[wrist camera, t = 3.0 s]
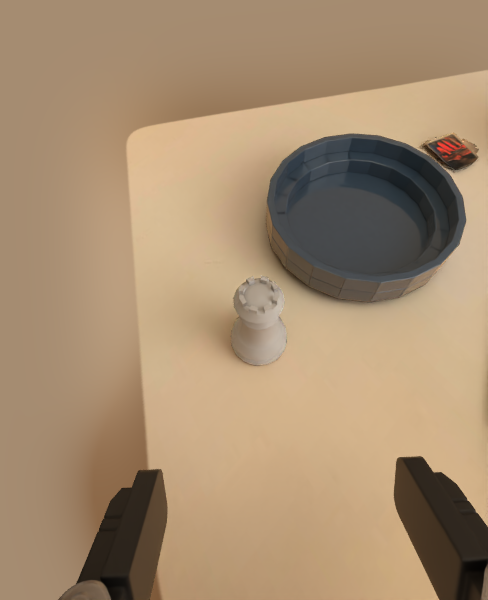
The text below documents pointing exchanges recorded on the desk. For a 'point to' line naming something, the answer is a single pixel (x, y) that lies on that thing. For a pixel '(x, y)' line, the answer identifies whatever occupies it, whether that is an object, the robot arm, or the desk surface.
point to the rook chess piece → (259, 322)
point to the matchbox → (453, 150)
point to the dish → (363, 216)
